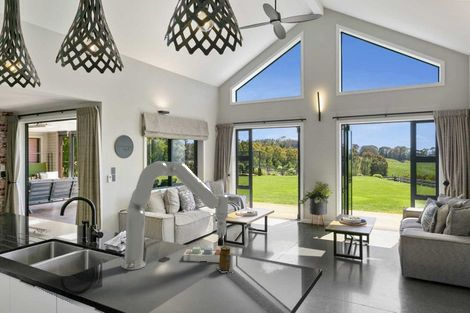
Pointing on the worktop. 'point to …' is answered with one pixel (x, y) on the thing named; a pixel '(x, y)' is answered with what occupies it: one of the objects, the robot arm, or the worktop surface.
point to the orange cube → (218, 251)
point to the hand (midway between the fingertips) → (220, 245)
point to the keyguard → (201, 256)
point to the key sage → (196, 250)
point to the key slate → (208, 251)
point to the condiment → (224, 259)
